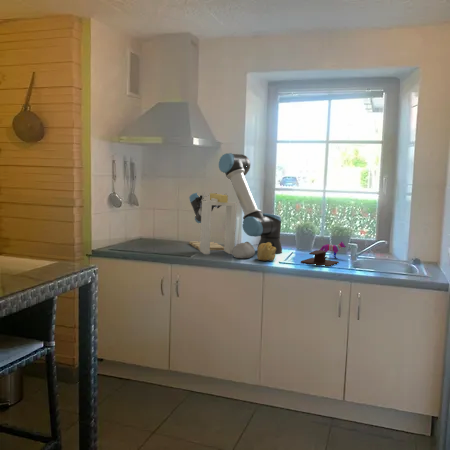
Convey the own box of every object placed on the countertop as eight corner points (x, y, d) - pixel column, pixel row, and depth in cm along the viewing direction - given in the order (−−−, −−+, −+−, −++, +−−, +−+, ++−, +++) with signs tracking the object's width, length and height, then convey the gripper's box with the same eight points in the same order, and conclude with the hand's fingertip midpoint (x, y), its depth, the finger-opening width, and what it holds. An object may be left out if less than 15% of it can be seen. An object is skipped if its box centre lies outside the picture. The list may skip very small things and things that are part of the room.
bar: (227, 202, 268) (227, 195, 267) (220, 202, 266) (221, 195, 266) (215, 199, 288) (216, 193, 288) (209, 199, 287) (209, 193, 287)
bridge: (234, 253, 277) (236, 199, 274) (204, 254, 271) (206, 198, 268) (228, 251, 286) (231, 198, 283) (199, 251, 281) (202, 197, 277)
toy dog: (344, 259, 275) (345, 242, 274) (313, 256, 283) (314, 238, 282) (345, 258, 279) (346, 241, 278) (315, 255, 286) (316, 238, 285)
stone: (272, 262, 254) (273, 244, 253) (253, 261, 257) (254, 242, 256) (277, 259, 266) (278, 241, 265) (259, 257, 269) (260, 239, 268)
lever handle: (297, 251, 255) (312, 247, 271) (297, 264, 256) (311, 259, 272) (327, 255, 246) (340, 250, 263) (326, 269, 247) (339, 263, 263)
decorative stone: (249, 255, 257) (240, 239, 259) (234, 264, 261) (226, 248, 263) (260, 254, 273) (252, 238, 275) (246, 262, 276) (238, 247, 279)
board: (225, 250, 289) (225, 247, 289) (200, 250, 284) (200, 247, 283) (212, 243, 313) (213, 241, 313) (189, 243, 308) (189, 241, 308)
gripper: (225, 215, 304) (235, 200, 285) (187, 214, 296) (195, 199, 277) (223, 204, 307) (234, 189, 288) (186, 203, 299) (194, 188, 280)
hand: (215, 194), depth 283 cm, fingers open, 13 cm apart
